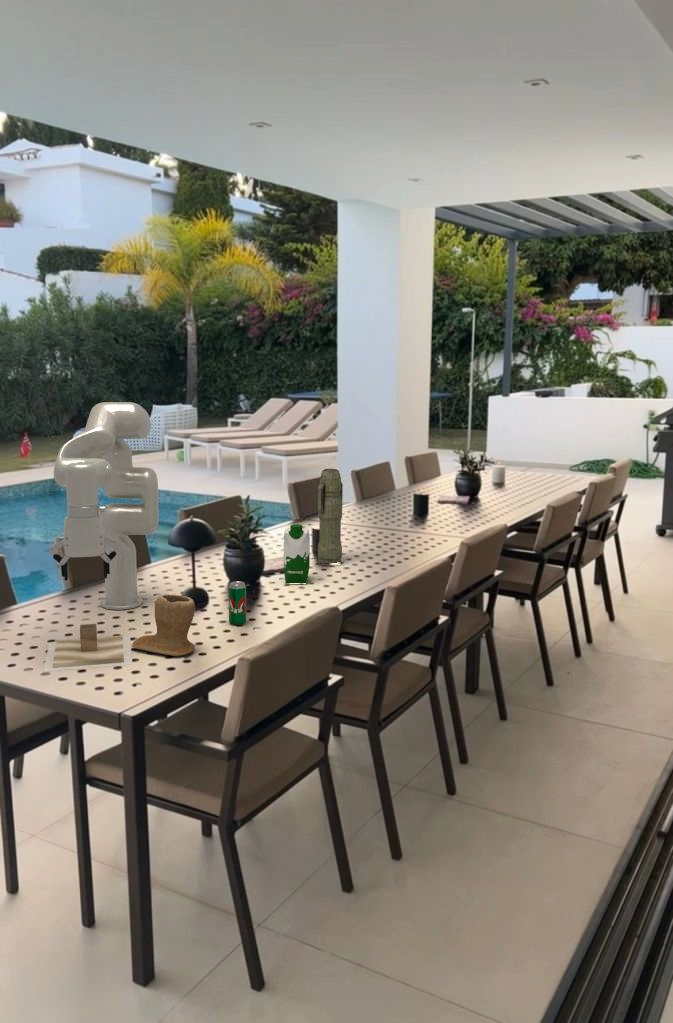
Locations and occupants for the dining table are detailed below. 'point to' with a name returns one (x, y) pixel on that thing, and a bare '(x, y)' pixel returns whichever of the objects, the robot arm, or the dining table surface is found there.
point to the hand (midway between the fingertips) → (86, 578)
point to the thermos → (330, 516)
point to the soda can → (237, 603)
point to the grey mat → (50, 665)
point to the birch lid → (88, 649)
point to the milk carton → (296, 554)
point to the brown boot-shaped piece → (170, 627)
